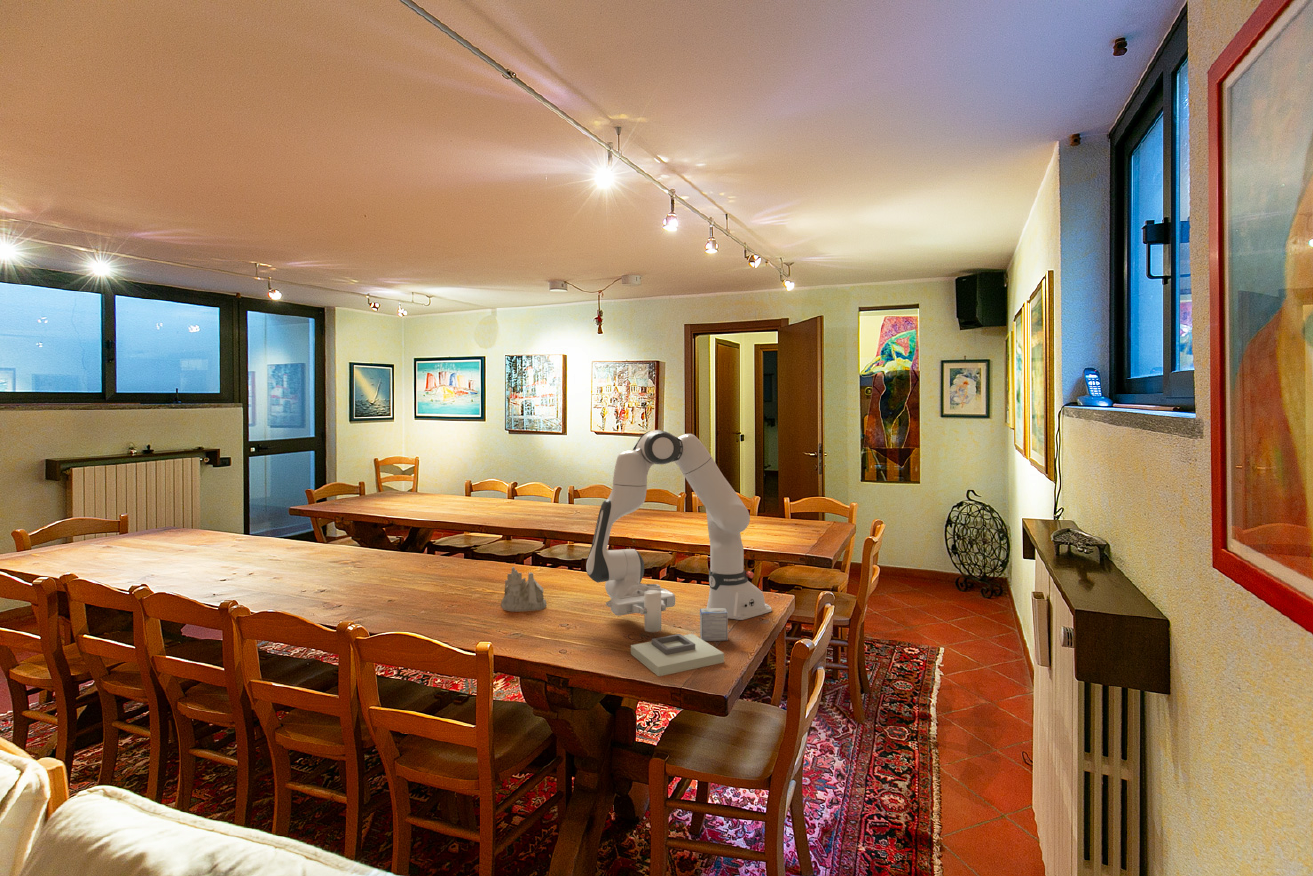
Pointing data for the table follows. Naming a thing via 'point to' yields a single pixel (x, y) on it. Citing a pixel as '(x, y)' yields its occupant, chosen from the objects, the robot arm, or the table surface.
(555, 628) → the table surface
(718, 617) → the medicine box
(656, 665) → the slab with grey frame
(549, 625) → the table surface
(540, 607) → the stone castle model
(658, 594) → the white rounded capsule
